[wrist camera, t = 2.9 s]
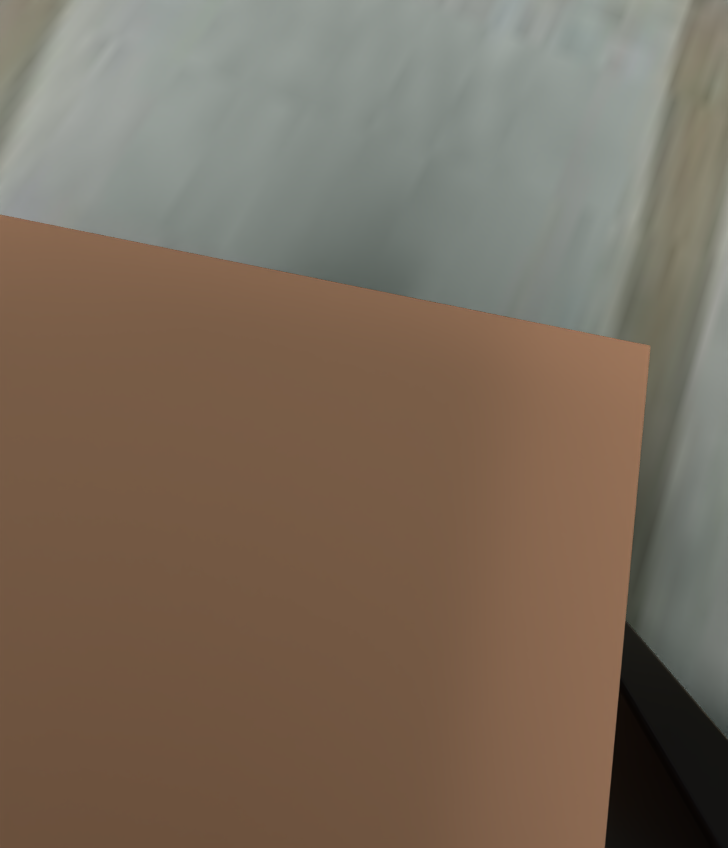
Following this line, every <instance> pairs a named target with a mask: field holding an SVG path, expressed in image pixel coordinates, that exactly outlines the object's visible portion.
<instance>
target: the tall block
mask: <svg viewBox="0 0 728 848" xmlns="http://www.w3.org/2000/svg"><path fill="white" fill-rule="evenodd" d="M649 356H650V346H649V345H644V344H639V343H634V342H629V341H624V340H619V339H614V338H609V337H605V336H600V335H595V334H590V333H585V332H580V331H575V330H570V329H565V328H560V327H555V326H550V325H545V324H540V323H535V322H530V321H525V320H520V319H515V318H510V317H505V316H500V315H495V314H490V313H485V312H481V311H476V310H471V309H466V308H461V307H456V306H451V305H446V304H441V303H436V302H431V301H426V300H421V299H416V298H411V297H406V296H401V295H396V294H391V293H386V292H381V291H376V290H371V289H366V288H362V287H357V286H352V285H347V284H342V283H337V282H332V281H327V280H322V279H317V278H312V277H307V276H302V275H297V274H292V273H287V272H282V271H277V270H272V269H267V268H262V267H257V266H252V265H247V264H242V263H238V262H233V261H228V260H223V259H218V258H213V257H208V256H203V255H198V254H193V253H188V252H183V251H178V250H173V249H168V248H163V247H158V246H153V245H148V244H143V243H138V242H133V241H128V240H123V239H118V238H114V237H109V236H104V235H99V234H94V233H89V232H84V231H79V230H74V229H69V228H64V227H59V226H54V225H49V224H44V223H39V222H34V221H29V220H24V219H19V218H14V217H9V216H4V215H0V848H605V838H606V827H607V816H608V805H609V795H610V784H611V773H612V762H613V751H614V740H615V729H616V718H617V707H618V696H619V685H620V674H621V663H622V652H623V641H624V630H625V619H626V608H627V597H628V586H629V575H630V564H631V553H632V542H633V532H634V521H635V510H636V499H637V488H638V477H639V466H640V455H641V444H642V433H643V422H644V411H645V400H646V389H647V378H648V367H649Z"/></svg>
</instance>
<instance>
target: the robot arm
mask: <svg viewBox="0 0 728 848" xmlns="http://www.w3.org/2000/svg"><path fill="white" fill-rule="evenodd" d="M605 848H728V739H727V738H726V737H725V735H724V734H723V733H722V732H721V731H720V730H719V728H718V727H717V726H716V725H715V724H714V723H713V721H712V720H711V719H710V718H709V717H708V716H707V714H706V713H705V712H704V711H703V710H702V709H701V707H700V706H699V705H698V704H697V703H696V702H695V700H694V699H693V698H692V697H691V696H690V695H689V693H688V692H687V691H686V690H685V689H684V688H683V686H682V685H681V684H680V683H679V682H678V681H677V679H676V678H675V677H674V676H673V675H672V674H671V672H670V671H669V670H668V669H667V668H666V667H665V665H664V664H663V663H662V662H661V661H660V660H659V658H658V657H657V656H656V655H655V654H654V653H653V651H652V650H651V649H650V648H649V647H648V646H647V644H646V643H645V642H644V641H643V640H642V639H641V637H640V636H639V635H638V634H637V633H636V632H635V630H634V629H633V628H632V627H631V626H630V625H629V624H628V622H627V621H626V620H625V630H624V641H623V652H622V663H621V674H620V685H619V696H618V707H617V718H616V729H615V740H614V751H613V762H612V773H611V784H610V795H609V805H608V816H607V827H606V838H605Z"/></svg>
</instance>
